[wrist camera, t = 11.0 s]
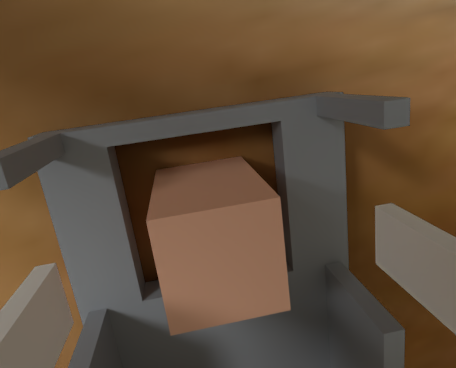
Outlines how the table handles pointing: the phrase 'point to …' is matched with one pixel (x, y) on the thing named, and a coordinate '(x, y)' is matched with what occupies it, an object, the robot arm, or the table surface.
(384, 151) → the table surface
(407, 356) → the table surface
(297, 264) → the sliding door cubby
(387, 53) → the table surface
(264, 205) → the block
